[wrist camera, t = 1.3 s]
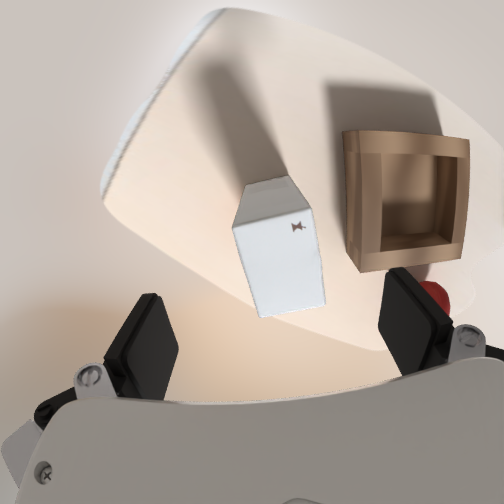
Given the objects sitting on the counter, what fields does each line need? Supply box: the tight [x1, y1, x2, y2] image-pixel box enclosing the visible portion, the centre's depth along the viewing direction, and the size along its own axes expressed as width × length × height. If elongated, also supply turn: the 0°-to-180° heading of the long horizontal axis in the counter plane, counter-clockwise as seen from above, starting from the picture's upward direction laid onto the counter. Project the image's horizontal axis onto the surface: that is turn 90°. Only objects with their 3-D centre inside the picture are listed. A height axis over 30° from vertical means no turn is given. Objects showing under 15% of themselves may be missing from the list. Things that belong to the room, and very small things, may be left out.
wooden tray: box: [342, 130, 470, 273], centre depth 22 cm, size 12×12×4 cm
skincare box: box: [232, 176, 326, 318], centre depth 20 cm, size 6×4×12 cm
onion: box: [419, 281, 450, 316], centre depth 24 cm, size 6×6×8 cm
